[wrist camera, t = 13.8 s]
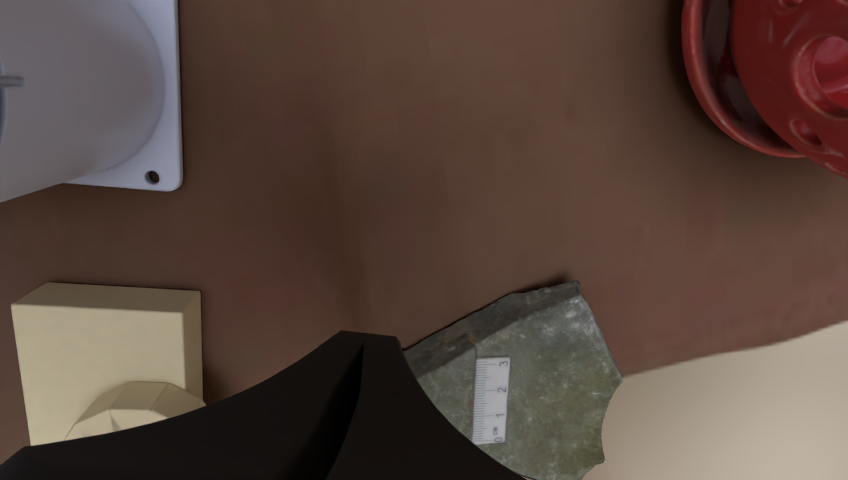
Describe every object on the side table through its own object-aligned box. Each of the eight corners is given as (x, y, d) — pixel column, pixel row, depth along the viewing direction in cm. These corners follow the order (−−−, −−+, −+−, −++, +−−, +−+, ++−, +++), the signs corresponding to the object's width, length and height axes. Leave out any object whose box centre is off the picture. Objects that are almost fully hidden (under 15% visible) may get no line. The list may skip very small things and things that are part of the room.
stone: (588, 507, 24) (571, 472, 26) (702, 343, 21) (673, 319, 23) (329, 417, 21) (334, 386, 23) (428, 218, 19) (424, 205, 21)
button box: (67, 450, 22) (5, 525, 19) (46, 281, 20) (-29, 327, 16) (234, 453, 23) (208, 524, 20) (234, 292, 21) (204, 337, 17)
